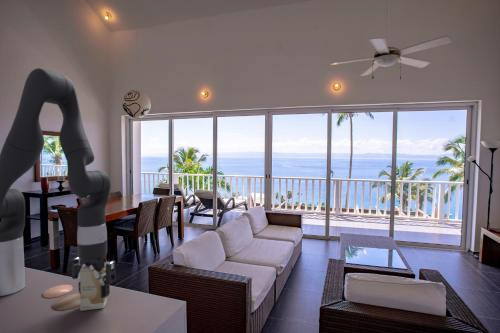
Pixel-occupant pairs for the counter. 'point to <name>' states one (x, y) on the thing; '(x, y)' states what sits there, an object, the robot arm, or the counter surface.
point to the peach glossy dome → (57, 291)
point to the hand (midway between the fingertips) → (94, 294)
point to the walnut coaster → (67, 302)
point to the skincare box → (90, 290)
